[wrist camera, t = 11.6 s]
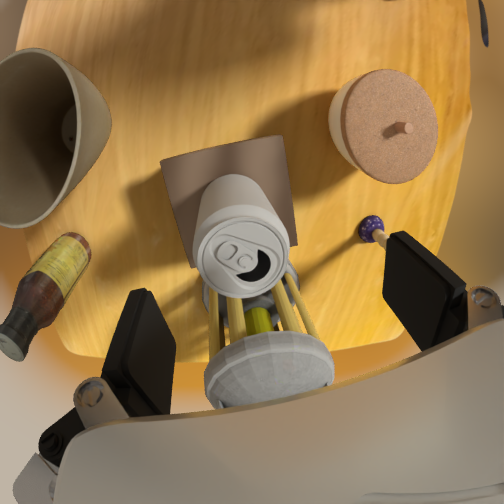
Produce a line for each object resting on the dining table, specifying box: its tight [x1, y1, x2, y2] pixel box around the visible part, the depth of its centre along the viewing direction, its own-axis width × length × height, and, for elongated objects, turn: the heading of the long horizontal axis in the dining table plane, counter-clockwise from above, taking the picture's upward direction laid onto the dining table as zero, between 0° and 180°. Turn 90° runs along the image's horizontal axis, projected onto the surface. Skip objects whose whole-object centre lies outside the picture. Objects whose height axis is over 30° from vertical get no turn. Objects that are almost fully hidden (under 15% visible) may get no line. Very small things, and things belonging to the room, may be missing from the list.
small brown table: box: [160, 134, 298, 268], centre depth 31 cm, size 12×12×7 cm
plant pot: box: [0, 48, 112, 229], centre depth 20 cm, size 15×15×16 cm
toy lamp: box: [359, 215, 389, 251], centre depth 32 cm, size 5×5×17 cm
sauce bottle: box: [0, 232, 91, 362], centre depth 26 cm, size 6×6×20 cm
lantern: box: [202, 259, 334, 409], centre depth 30 cm, size 14×14×25 cm
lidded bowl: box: [328, 69, 438, 184], centre depth 27 cm, size 13×13×11 cm
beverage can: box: [193, 174, 290, 298], centre depth 22 cm, size 6×6×12 cm
